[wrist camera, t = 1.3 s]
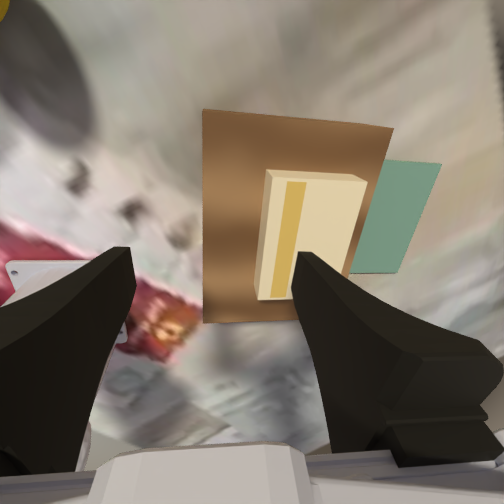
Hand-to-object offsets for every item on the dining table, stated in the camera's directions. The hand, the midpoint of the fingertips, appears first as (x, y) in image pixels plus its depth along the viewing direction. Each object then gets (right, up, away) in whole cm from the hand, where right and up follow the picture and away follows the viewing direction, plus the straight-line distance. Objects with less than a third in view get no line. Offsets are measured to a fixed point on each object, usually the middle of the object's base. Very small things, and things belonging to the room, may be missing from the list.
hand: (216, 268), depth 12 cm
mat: (+13, +4, +13) cm, 19 cm away
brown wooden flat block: (+3, +4, +12) cm, 13 cm away
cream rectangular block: (+5, +2, +8) cm, 10 cm away
